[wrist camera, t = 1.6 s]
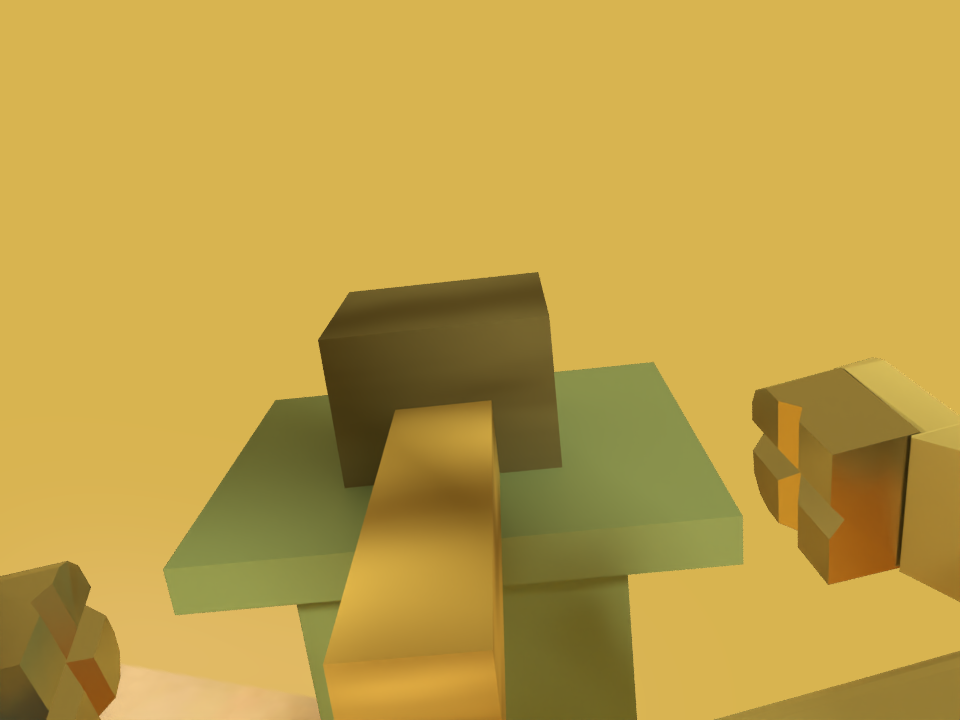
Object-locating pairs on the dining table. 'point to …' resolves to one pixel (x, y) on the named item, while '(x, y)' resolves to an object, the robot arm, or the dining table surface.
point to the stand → (524, 536)
